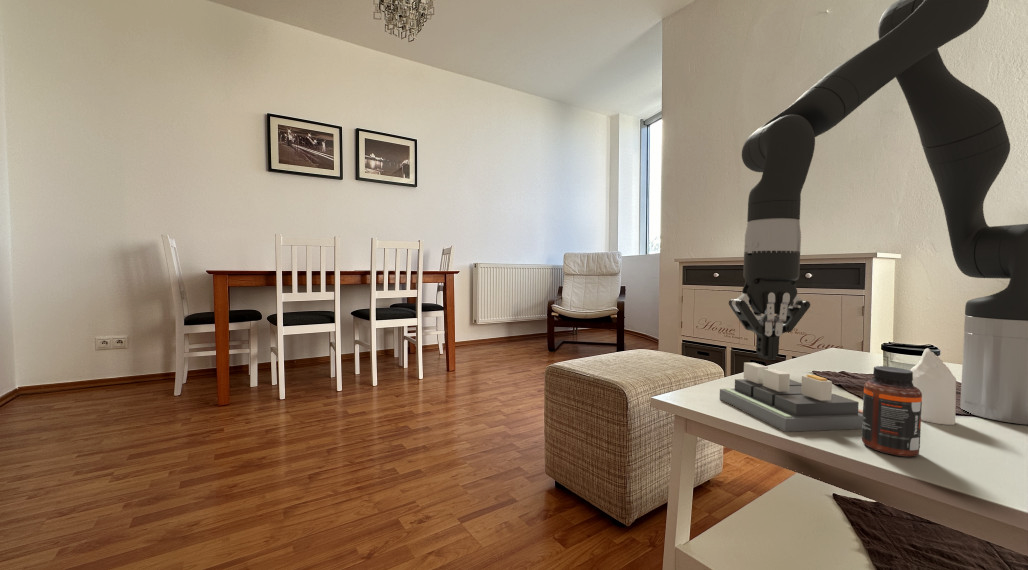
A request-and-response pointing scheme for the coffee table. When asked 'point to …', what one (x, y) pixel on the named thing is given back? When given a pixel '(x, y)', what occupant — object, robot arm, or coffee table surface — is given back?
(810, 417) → the panel
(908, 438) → the supplement bottle
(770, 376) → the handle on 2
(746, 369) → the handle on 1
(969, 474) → the coffee table surface
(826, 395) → the handle
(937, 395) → the white pointed block
